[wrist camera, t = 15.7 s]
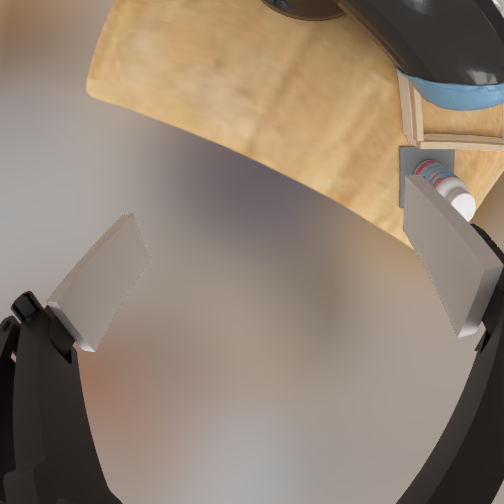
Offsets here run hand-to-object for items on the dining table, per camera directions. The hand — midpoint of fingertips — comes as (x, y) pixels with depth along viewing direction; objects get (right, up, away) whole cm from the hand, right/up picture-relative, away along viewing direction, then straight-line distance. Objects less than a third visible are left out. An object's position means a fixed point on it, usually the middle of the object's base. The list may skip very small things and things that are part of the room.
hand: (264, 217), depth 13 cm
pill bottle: (+27, +10, +24) cm, 37 cm away
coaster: (+27, +10, +24) cm, 38 cm away
